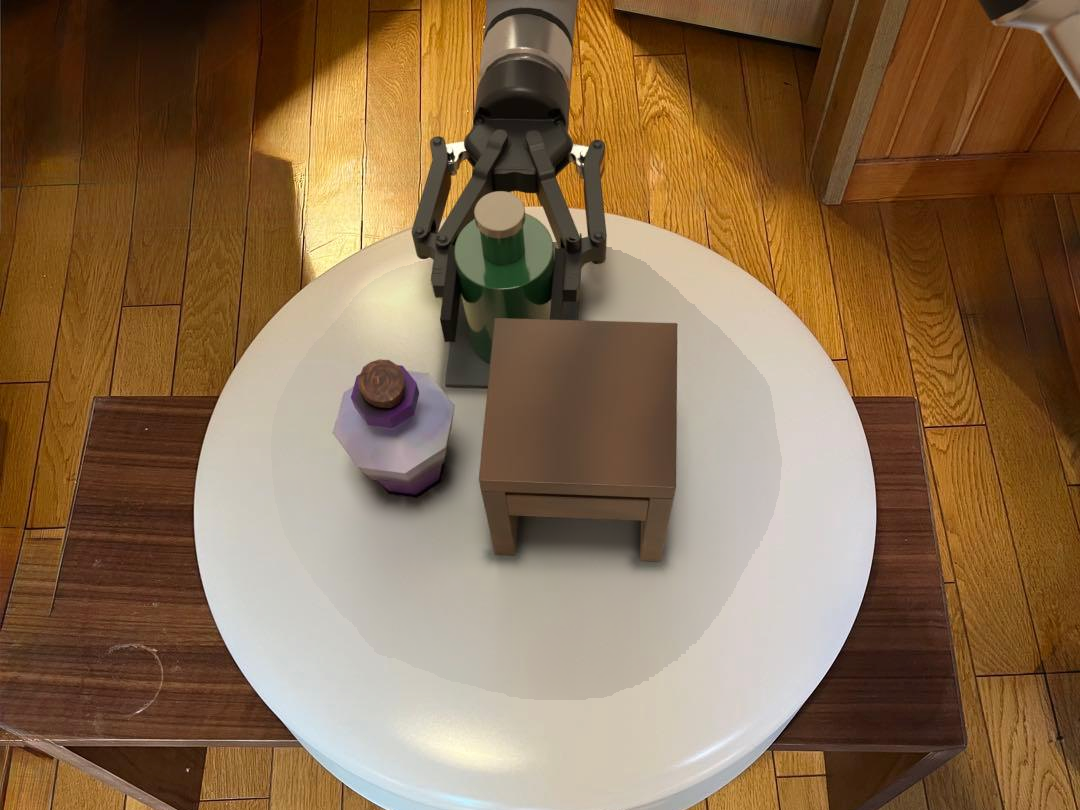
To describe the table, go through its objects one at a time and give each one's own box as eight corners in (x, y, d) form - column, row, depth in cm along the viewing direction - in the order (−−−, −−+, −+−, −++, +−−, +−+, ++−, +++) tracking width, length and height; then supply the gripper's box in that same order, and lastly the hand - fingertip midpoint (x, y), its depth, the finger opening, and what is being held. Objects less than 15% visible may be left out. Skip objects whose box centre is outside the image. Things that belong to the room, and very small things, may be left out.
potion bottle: (345, 429, 75) (304, 339, 64) (454, 405, 75) (432, 310, 64) (363, 528, 71) (323, 451, 60) (477, 502, 72) (458, 420, 61)
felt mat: (578, 286, 79) (578, 282, 79) (573, 391, 75) (572, 388, 75) (457, 282, 80) (457, 279, 79) (445, 386, 76) (444, 384, 75)
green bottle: (563, 301, 78) (560, 175, 65) (548, 375, 75) (541, 258, 63) (478, 291, 79) (459, 164, 66) (460, 363, 76) (436, 246, 63)
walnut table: (663, 416, 74) (677, 322, 63) (661, 561, 69) (676, 488, 58) (507, 411, 75) (494, 317, 64) (494, 554, 70) (478, 480, 59)
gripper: (645, 132, 81) (639, 366, 72) (408, 128, 82) (373, 358, 73) (651, 55, 74) (645, 304, 65) (392, 52, 75) (351, 296, 66)
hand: (501, 332), depth 69 cm, fingers closed on green bottle, 7 cm apart
